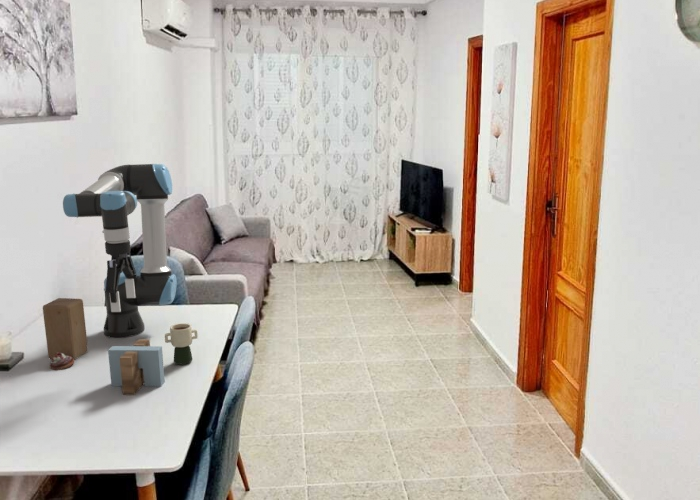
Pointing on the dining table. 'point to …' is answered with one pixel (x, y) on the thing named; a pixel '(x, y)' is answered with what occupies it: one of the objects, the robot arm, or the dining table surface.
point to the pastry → (61, 362)
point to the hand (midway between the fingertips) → (123, 304)
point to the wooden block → (65, 327)
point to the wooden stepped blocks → (132, 370)
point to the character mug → (181, 342)
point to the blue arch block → (147, 359)
